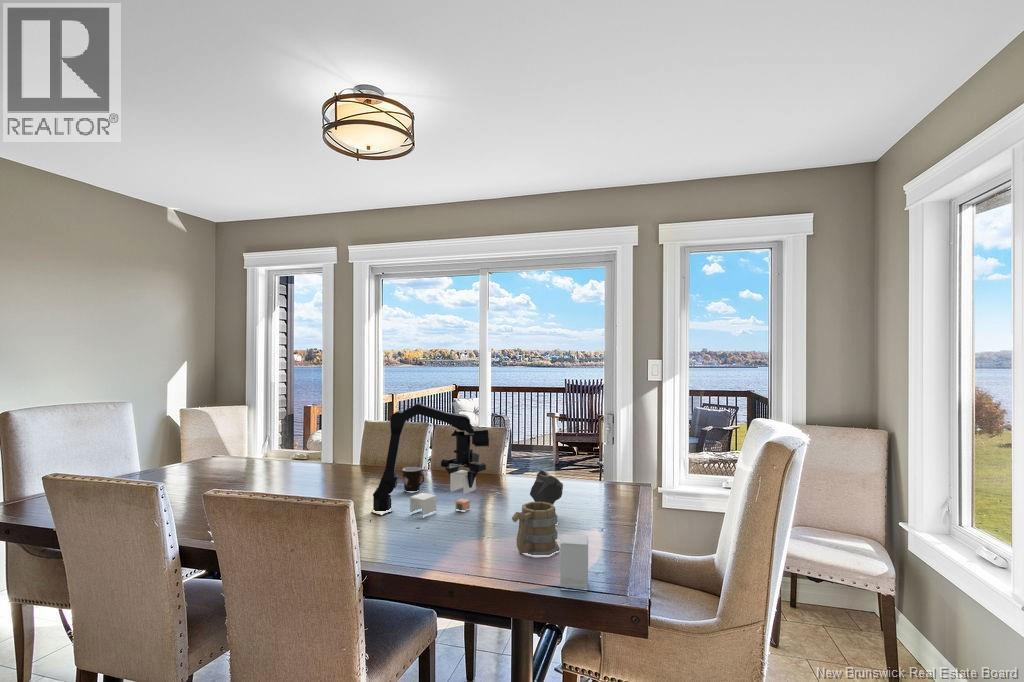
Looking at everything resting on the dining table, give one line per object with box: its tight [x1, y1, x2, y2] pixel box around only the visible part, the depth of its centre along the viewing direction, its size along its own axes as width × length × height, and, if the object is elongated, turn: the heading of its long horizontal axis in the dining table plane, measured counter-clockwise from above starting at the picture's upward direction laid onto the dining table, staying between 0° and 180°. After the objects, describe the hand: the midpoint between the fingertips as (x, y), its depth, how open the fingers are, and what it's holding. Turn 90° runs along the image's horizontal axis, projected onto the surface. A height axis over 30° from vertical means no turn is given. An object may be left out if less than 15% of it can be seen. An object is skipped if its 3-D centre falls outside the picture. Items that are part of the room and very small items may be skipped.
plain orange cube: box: [455, 498, 471, 510], centre depth 207 cm, size 4×4×4 cm
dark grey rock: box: [529, 469, 564, 522], centre depth 200 cm, size 14×15×18 cm
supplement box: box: [559, 533, 589, 590], centre depth 141 cm, size 7×7×13 cm
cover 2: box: [449, 469, 477, 495], centre depth 207 cm, size 7×7×7 cm
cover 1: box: [409, 492, 437, 516], centre depth 202 cm, size 7×7×7 cm
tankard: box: [511, 501, 560, 555], centre depth 164 cm, size 20×13×15 cm, turn 141°
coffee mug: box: [402, 466, 425, 491], centre depth 233 cm, size 12×9×10 cm
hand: (463, 486), depth 207 cm, fingers closed on cover 2, 7 cm apart
